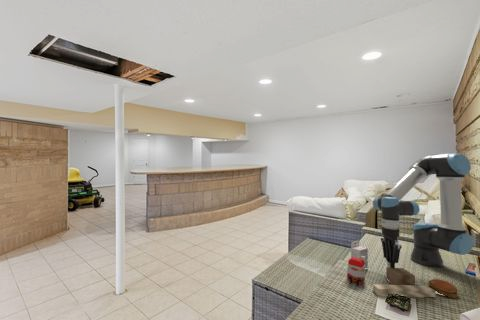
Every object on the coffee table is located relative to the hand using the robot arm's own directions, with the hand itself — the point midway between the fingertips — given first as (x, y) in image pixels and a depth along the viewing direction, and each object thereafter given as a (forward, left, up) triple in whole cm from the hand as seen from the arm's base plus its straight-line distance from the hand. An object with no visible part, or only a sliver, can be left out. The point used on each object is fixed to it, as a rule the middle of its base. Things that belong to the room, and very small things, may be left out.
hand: (391, 274), depth 112 cm
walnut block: (0, +6, -2) cm, 6 cm away
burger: (-14, +13, -2) cm, 19 cm away
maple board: (+5, +15, -2) cm, 16 cm away
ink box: (+11, -10, -2) cm, 15 cm away
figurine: (+20, +5, -2) cm, 21 cm away
